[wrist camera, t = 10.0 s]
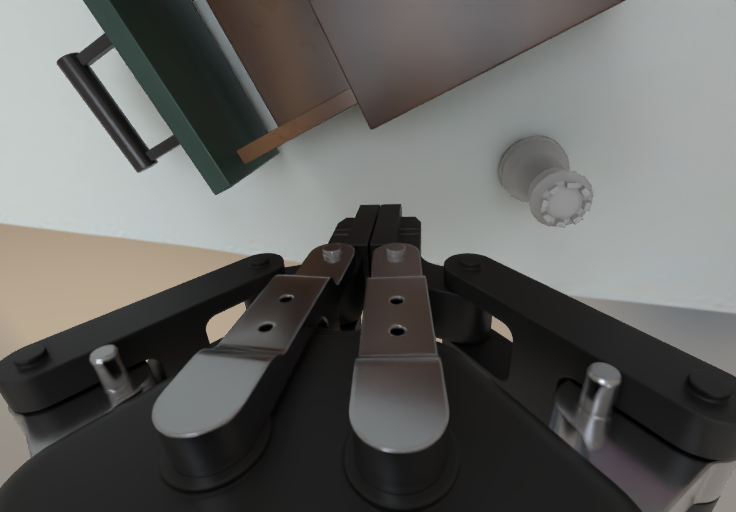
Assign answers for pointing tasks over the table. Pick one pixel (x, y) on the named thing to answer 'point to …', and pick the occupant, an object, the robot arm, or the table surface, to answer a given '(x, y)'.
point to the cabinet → (435, 43)
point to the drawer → (213, 79)
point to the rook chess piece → (545, 181)
